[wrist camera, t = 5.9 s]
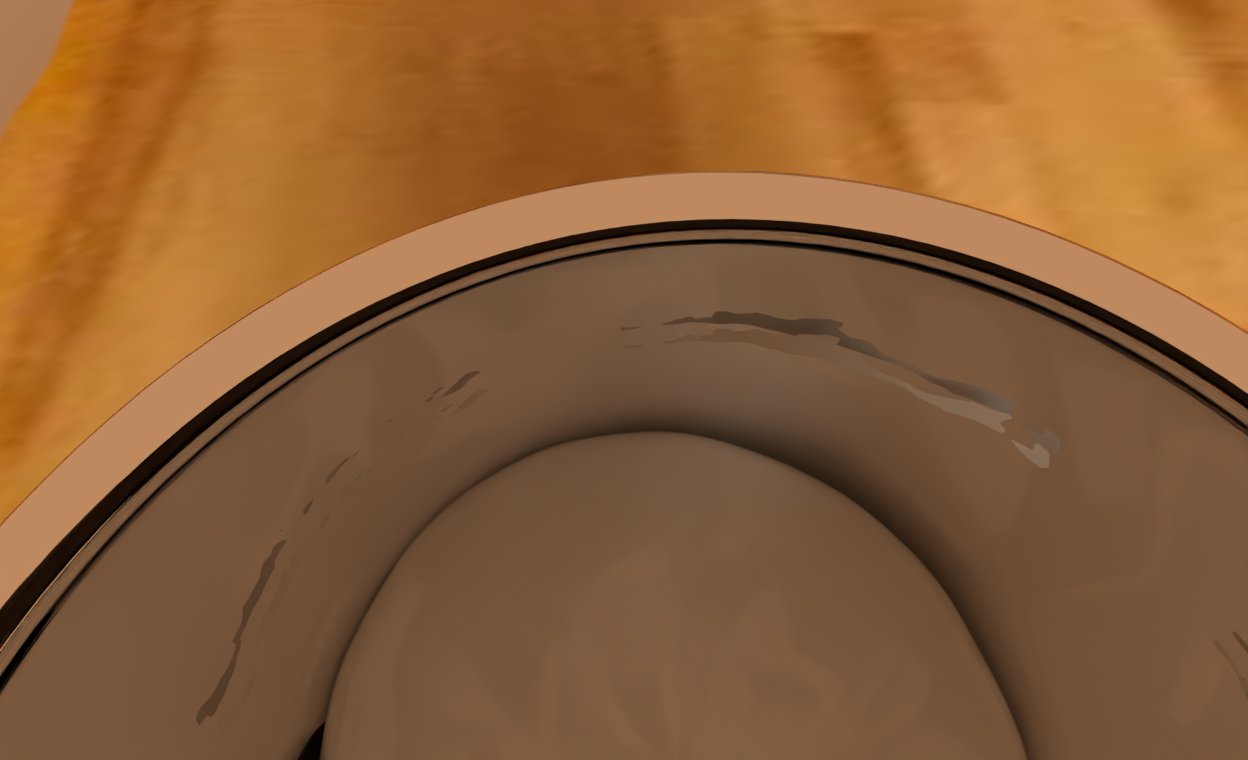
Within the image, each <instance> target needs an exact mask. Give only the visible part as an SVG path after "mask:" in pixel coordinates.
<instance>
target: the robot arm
mask: <svg viewBox="0 0 1248 760" xmlns="http://www.w3.org/2000/svg"><path fill="white" fill-rule="evenodd" d="M324 725H325V723H324V724H323V726H322V727H321V729H320V730H319V732H318V733H317V735H316V736H315V738H314V739H313V741H312V742H311V744H310V745H309V747H308V748H307V750H306V751H305V753H304V754H303V756H302V758H301V759H300V760H319V758H320V752H321V746H322V739H323V732H324Z"/></svg>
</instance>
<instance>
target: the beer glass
mask: <svg viewBox="0 0 1248 760" xmlns="http://www.w3.org/2000/svg"><path fill="white" fill-rule="evenodd" d="M324 723H325V725H324V732H323V739H322V746H321V752H320V758H319V760H1248V331H1246V330H1244V329H1243V328H1241V327H1239V326H1238V325H1236V324H1234V323H1233V322H1231V321H1229V320H1228V319H1226V318H1224V317H1223V316H1221V315H1219V314H1218V313H1216V312H1214V311H1212V310H1211V309H1209V308H1207V307H1205V306H1204V305H1202V304H1200V303H1198V302H1197V301H1195V300H1193V299H1191V298H1189V297H1188V296H1186V295H1184V294H1182V293H1181V292H1179V291H1177V290H1175V289H1173V288H1171V287H1169V286H1167V285H1165V284H1163V283H1161V282H1159V281H1157V280H1155V279H1153V278H1151V277H1150V276H1148V275H1146V274H1144V273H1142V272H1139V271H1137V270H1135V269H1133V268H1131V267H1129V266H1127V265H1125V264H1123V263H1121V262H1119V261H1117V260H1114V259H1112V258H1110V257H1108V256H1106V255H1103V254H1101V253H1099V252H1096V251H1094V250H1092V249H1089V248H1087V247H1085V246H1082V245H1080V244H1078V243H1075V242H1073V241H1070V240H1068V239H1065V238H1063V237H1060V236H1057V235H1055V234H1052V233H1050V232H1047V231H1044V230H1042V229H1039V228H1036V227H1033V226H1030V225H1028V224H1025V223H1022V222H1019V221H1016V220H1013V219H1010V218H1007V217H1005V216H1002V215H998V214H995V213H992V212H988V211H985V210H982V209H979V208H975V207H972V206H969V205H965V204H961V203H958V202H954V201H950V200H946V199H943V198H939V197H935V196H931V195H926V194H922V193H917V192H913V191H909V190H904V189H900V188H894V187H889V186H883V185H878V184H872V183H867V182H861V181H853V180H846V179H839V178H832V177H823V176H813V175H803V174H793V173H779V172H764V171H687V172H672V173H657V174H647V175H638V176H628V177H620V178H613V179H605V180H598V181H591V182H585V183H579V184H574V185H568V186H562V187H557V188H552V189H548V190H544V191H539V192H535V193H531V194H526V195H522V196H518V197H514V198H511V199H507V200H503V201H499V202H496V203H492V204H488V205H485V206H482V207H479V208H476V209H473V210H469V211H466V212H463V213H460V214H457V215H454V216H451V217H448V218H446V219H443V220H440V221H437V222H434V223H432V224H429V225H426V226H423V227H420V228H418V229H415V230H413V231H410V232H408V233H405V234H403V235H400V236H398V237H395V238H393V239H390V240H388V241H385V242H383V243H381V244H379V245H377V246H374V247H372V248H370V249H368V250H366V251H363V252H361V253H359V254H357V255H354V256H352V257H350V258H348V259H346V260H344V261H342V262H340V263H338V264H336V265H334V266H332V267H330V268H328V269H326V270H324V271H322V272H320V273H318V274H317V275H315V276H313V277H311V278H309V279H307V280H306V281H304V282H302V283H300V284H298V285H297V286H295V287H293V288H291V289H289V290H288V291H286V292H284V293H282V294H281V295H279V296H277V297H276V298H274V299H272V300H271V301H269V302H267V303H266V304H264V305H262V306H261V307H259V308H257V309H256V310H254V311H253V312H251V313H249V314H248V315H246V316H245V317H243V318H242V319H240V320H239V321H237V322H236V323H234V324H233V325H231V326H229V327H228V328H226V329H225V330H223V331H222V332H220V333H219V334H217V335H216V336H214V337H213V338H212V339H210V340H209V341H207V342H206V343H204V344H203V345H202V346H200V347H199V348H197V349H196V350H195V351H193V352H192V353H190V354H189V355H187V356H186V357H185V358H183V359H182V360H180V361H179V362H178V363H176V364H175V365H174V366H173V367H171V368H170V369H169V370H167V371H166V372H165V373H163V374H162V375H161V376H160V377H158V378H157V379H156V380H154V381H153V382H152V383H151V384H149V385H148V386H147V387H145V388H144V389H143V390H142V391H141V392H139V393H138V394H137V395H136V396H135V397H134V398H132V399H131V400H130V401H129V402H128V403H126V404H125V405H124V406H123V407H122V408H120V409H119V410H118V411H117V412H116V413H115V414H113V415H112V416H111V417H110V418H109V419H108V420H107V421H105V422H104V423H103V424H102V425H101V426H100V427H99V428H98V429H96V430H95V431H94V432H93V433H92V434H91V435H90V436H89V437H88V438H86V439H85V440H84V441H83V442H82V443H81V444H80V445H79V446H77V447H76V448H75V449H74V450H73V451H72V452H71V453H70V454H69V455H68V456H67V457H66V458H65V459H64V460H63V461H62V462H61V463H60V464H59V465H58V466H57V467H56V468H55V469H54V470H53V471H52V472H51V473H50V474H49V475H48V476H47V477H46V478H45V479H44V480H42V481H41V483H40V484H39V485H38V486H37V487H36V488H35V489H34V490H33V491H32V492H31V493H30V494H29V495H28V496H27V497H26V498H25V499H24V500H23V501H22V502H21V503H20V504H19V505H18V506H17V507H16V508H15V509H14V510H13V511H12V512H11V513H10V514H9V515H8V516H7V518H6V519H5V520H4V521H3V522H2V523H1V524H0V760H300V759H301V758H302V756H303V754H304V753H305V751H306V750H307V748H308V747H309V745H310V744H311V742H312V741H313V739H314V738H315V736H316V735H317V733H318V732H319V730H320V729H321V727H322V726H323V724H324Z"/></svg>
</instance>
